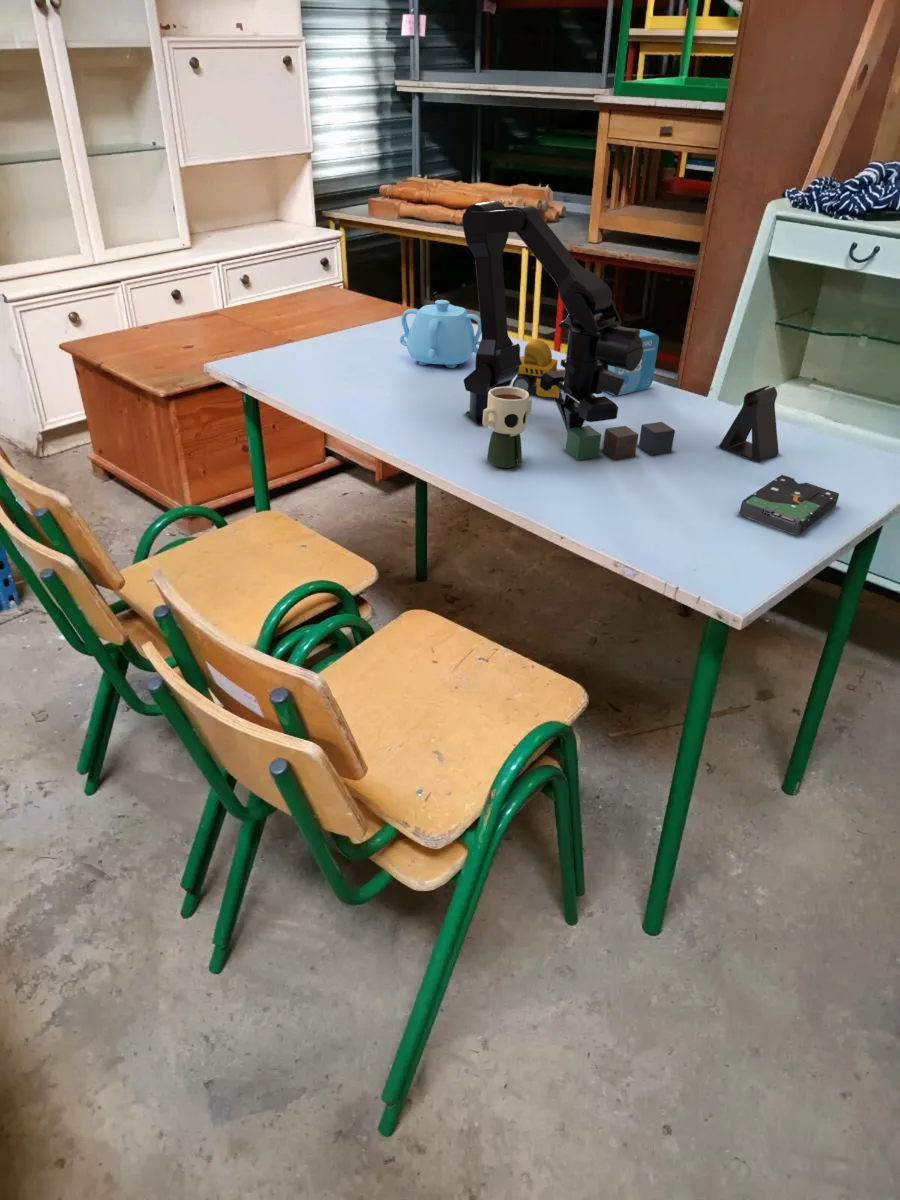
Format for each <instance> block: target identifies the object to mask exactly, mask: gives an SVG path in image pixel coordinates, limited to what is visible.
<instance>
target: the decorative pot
mask: <svg viewBox="0 0 900 1200" xmlns="http://www.w3.org/2000/svg"><path fill="white" fill-rule="evenodd" d="M434 303H435V304H426V305H423V306H422V307H420V308H419V309H417V308H408V309H407V310H404V312H403V313H402V315H401V326H402V329H403V334H401V335H400V336H399V343H400V344H401V345H402V346H403V347H406V350H407V353H408V354H409V355H410V357H411V358H412V360H414V361H416V362H418V364H419V365H421V366H428V365H432V364H433V365H445V367H446V368H450V369H453V368H454V369H455V368H456V367H457V366H458V365H460V364H463V363H465V362H467V361H468V360H469V359H470V357H471V356H472V354H473V353H474V354H476V353H477V350H478V347H477V346H479V345H480V342H481V341H479V339H480V337H481V336H482V332H481V320H480V316H478V315H477V314H474V313H468V311H467V310H466V308H464V307H462V306H458V305H453V304H451V303H450V301H449V300H446V299H437V300H435V302H434ZM410 314H413V315H415V316H414V319H413V321H412V322H411V326H410V327H409V326H408V321H407V317H408V315H410ZM472 320H474V321H475V322H476V323H477V330H476V333H475V330H474V326H473V323H472ZM405 339H406V340H405Z"/></svg>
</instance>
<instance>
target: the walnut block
mask: <svg viewBox="0 0 900 1200" xmlns="http://www.w3.org/2000/svg"><path fill="white" fill-rule="evenodd" d="M638 442H639V433H638V432H636V431H635V430H634V429H631V427H628V426H627V425H621V426H614V427H613V426H612V427H606V428H605V429H604V435H603V443H602V452H603V453H605V455H608V456H609V457H610V458H612V459H613V460H614V461H616V460H621V459H629V458H635V457H636V453H637V448H638Z"/></svg>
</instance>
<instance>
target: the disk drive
mask: <svg viewBox="0 0 900 1200" xmlns="http://www.w3.org/2000/svg"><path fill="white" fill-rule="evenodd" d="M839 497H840V493H839V492H837V491H833V490H830V489H826V488H823V487H822V486H821V487H820V486H818V485H816V484H812V483H809V482H800V483H798V482H797V481H796V480H795V478H793V477H791V476H787V475H784V474H781V475H779V476H777V477H775V478H774V479H773V480H771V481H770V482H769V483H767V484H765V485H764V486H763V487H761V488H759V489H758V490H756V491H755V492H753V493H752V494H750V495H749V496H747V497H746V498H744V499H743V500H742V501H741V504H740V507H739V508H740V509H739V513H738V514H739V515H741V516H743V517H745V518H747V519H750V520H753V521H755V522H757V523H761V524H764V525H766V526H769V527H771V528H775V529H777V530H780V531H782V532H786V533H789V534H791V535H796V536H799V535H800V534H802V533H803V532H805V531H806V530H808V528H810V527H811V526H812V525H814V524H815V523H816V522H818V521H819V520H820V519H821V518H823V517H824V516H825V515H826V514H828V513H829V512H831V511H832V510H833V509H834V508H835V507H836V506H837V503H838V500H839Z"/></svg>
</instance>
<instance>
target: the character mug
mask: <svg viewBox="0 0 900 1200" xmlns="http://www.w3.org/2000/svg"><path fill="white" fill-rule="evenodd" d="M529 393H530V392H529ZM529 393H528V392H527V391H525V390H524V389H521V388H517V387H513V386H506V387H496V388H493V389H491V390H490V391H489V392H488V405H487V408H486V409H484V411H483V424H482V426H483V428H487V429H489V430H490V431H492V432H491V434H490V438H489V444H488V447H487V448H488V449H487V454H486V459H487V461H488V462H489V463H490V464H492V465H494V466H496V467H498V468H499V467H500V468H514V467H515V462H516V461H517V466H520V465H521V464H522V463H523V455H522V454H523V453H522V452H523V449H522V436H521V434H522V433H523V432H524V431H525V430H526V429H527V427H528V424H529V423H528V422H529V416H530V415H531V413H532V406H533V400H532V398H531V397H530V394H529Z"/></svg>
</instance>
